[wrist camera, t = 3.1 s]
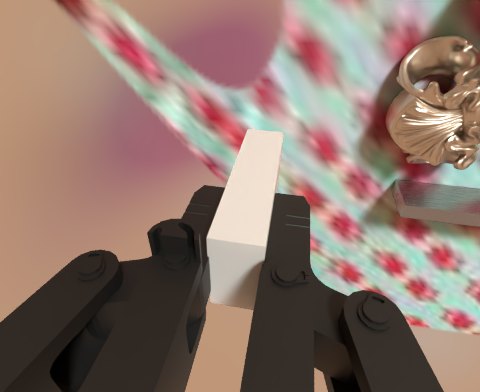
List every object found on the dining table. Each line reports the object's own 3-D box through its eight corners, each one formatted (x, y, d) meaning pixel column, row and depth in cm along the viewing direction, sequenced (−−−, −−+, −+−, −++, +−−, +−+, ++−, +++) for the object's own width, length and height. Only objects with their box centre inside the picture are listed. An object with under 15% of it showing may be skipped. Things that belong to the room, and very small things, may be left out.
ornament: (503, 143, 20) (536, 174, 17) (388, 166, 22) (399, 197, 19) (518, 7, 16) (564, 18, 13) (374, 53, 18) (386, 71, 15)
